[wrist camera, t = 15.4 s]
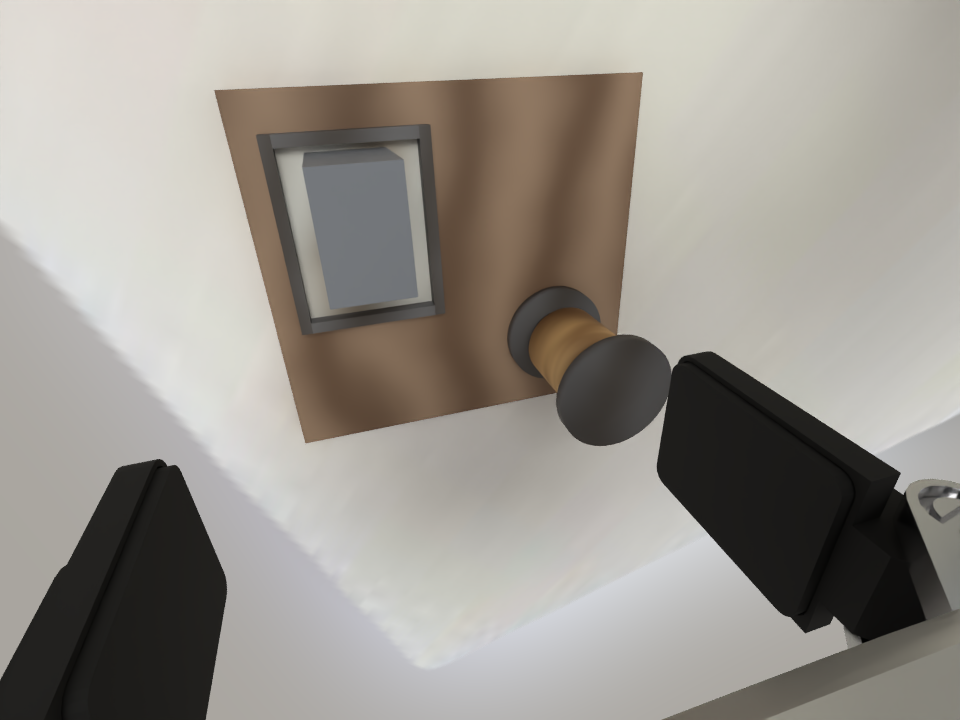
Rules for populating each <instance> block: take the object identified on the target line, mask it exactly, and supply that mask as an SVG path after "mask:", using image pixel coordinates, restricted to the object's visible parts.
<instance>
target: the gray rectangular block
mask: <svg viewBox="0 0 960 720" xmlns="http://www.w3.org/2000/svg"><path fill="white" fill-rule="evenodd" d="M302 170H303V175H304V180H305V185H306V190H307V195H308V200H309V205H310V210H311V215H312V220H313V226H314V231H315V236H316V241H317V246H318V251H319V256H320V261H321V266H322V271H323V276H324V281H325V286H326V291H327V296H328V301H329V307H330V310H332V309H339V308H346V307H353V306H360V305H367V304H374V303H381V302H388V301H395V300H402V299H409V298H416V297H418V290H417V280H416V271H415V261H414V252H413V242H412V233H411V223H410V214H409V204H408V195H407V185H406V176H405V166H404V159H402V158H401V157H399V156H398V155H397V154H395V153H394V152H392V151H391V150H389V149H388V148H386V147H375V148H361V149H347V150H333V151H319V152H305V153H304V155H303V164H302Z"/></svg>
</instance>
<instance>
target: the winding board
mask: <svg viewBox="0 0 960 720" xmlns="http://www.w3.org/2000/svg"><path fill="white" fill-rule="evenodd" d="M642 76H643V72H639V73H615V74H592V75H568V76H544V77H520V78H496V79H473V80H449V81H425V82H401V83H377V84H354V85H330V86H306V87H282V88H258V89H235V90H214V91H215V95H216V99H217V102H218V106H219V110H220V114H221V118H222V122H223V126H224V130H225V133H226V137H227V141H228V145H229V149H230V153H231V157H232V161H233V164H234V168H235V172H236V176H237V180H238V184H239V188H240V192H241V195H242V199H243V203H244V207H245V211H246V215H247V219H248V222H249V226H250V230H251V234H252V238H253V242H254V246H255V250H256V253H257V257H258V261H259V265H260V269H261V273H262V277H263V281H264V284H265V288H266V292H267V296H268V300H269V304H270V308H271V312H272V315H273V319H274V323H275V327H276V331H277V335H278V339H279V343H280V346H281V350H282V354H283V358H284V362H285V366H286V370H287V374H288V377H289V381H290V385H291V389H292V393H293V397H294V401H295V404H296V408H297V412H298V416H299V420H300V424H301V428H302V432H303V435H304V439H305V443H309V442H314V441H319V440H324V439H329V438H334V437H339V436H344V435H349V434H354V433H359V432H364V431H369V430H374V429H379V428H384V427H389V426H394V425H399V424H404V423H409V422H414V421H419V420H424V419H429V418H433V417H438V416H443V415H448V414H453V413H458V412H463V411H468V410H473V409H478V408H483V407H488V406H493V405H498V404H503V403H508V402H513V401H518V400H523V399H528V398H533V397H538V396H543V395H548V394H553V393H557V398H556V406H557V412H558V415H559V417H560V419H561V421H562V423H563V424H564V425H565V427H566V428H567V429H568V431H569V432H570V433H571V434H572V435H573V436H574V437H575V438H576V439H577V440H579V441H581V442H583V443H586V444H589V445H594V446H607V445H612V444H616V443H620V442H622V441H625V440H627V439H629V438H631V437H633V436H634V435H636V434H637V433H639V432H640V431H642V430H643V429H644V428H645V427H646V426H648V425H649V424H650V423H651V422H652V421H653V419H654V418H655V417H656V416H657V415H658V413H659V412H660V410H661V409H662V407H663V406H664V404H665V402H666V399H667V397H668V394H669V387H670V381H671V368H670V364H669V362H668V360H667V358H666V356H665V355H664V354H663V352H662V351H661V350H659V349H658V348H657V347H656V346H654V345H653V344H651V343H650V342H649V341H647V340H645V339H644V338H641V337H638V336H634V335H617V328H618V318H619V308H620V298H621V288H622V278H623V268H624V258H625V248H626V238H627V227H628V217H629V207H630V197H631V187H632V177H633V167H634V157H635V147H636V137H637V127H638V117H639V107H640V97H641V87H642ZM375 147H386V148H388V149H389V150H391V151H392V152H394V153H395V154H397V155H398V156H399V157H401V158H402V159H404V166H405V176H406V185H407V195H408V204H409V214H410V223H411V233H412V242H413V252H414V261H415V271H416V280H417V290H418V297H416V298H409V299H402V300H395V301H388V302H381V303H374V304H367V305H360V306H353V307H346V308H339V309H332V310H330V307H329V301H328V296H327V291H326V286H325V281H324V276H323V271H322V266H321V261H320V256H319V251H318V246H317V241H316V236H315V231H314V226H313V220H312V215H311V210H310V205H309V200H308V195H307V190H306V185H305V180H304V175H303V170H302V164H303V155H304V153H305V152H319V151H333V150H347V149H361V148H375Z"/></svg>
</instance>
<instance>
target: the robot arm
mask: <svg viewBox="0 0 960 720" xmlns="http://www.w3.org/2000/svg"><path fill="white" fill-rule="evenodd" d="M657 472H658V475H659V478H660V480H661V481H662V483H663V484H664V485H665V486H666V487H667V488H668V489H669V491H670V492H671V493H672V494H673V495H674V496H675V497H676V498H677V499H678V501H679V502H680V503H681V504H682V505H683V506H684V507H685V508H686V509H687V510H688V512H689V513H690V514H691V515H692V516H693V517H694V518H695V519H696V520H697V522H698V523H699V524H700V525H701V526H702V527H703V528H704V529H705V530H706V532H707V533H708V534H709V535H710V536H711V537H712V538H713V539H714V540H715V542H716V543H717V544H718V545H719V546H720V547H721V548H722V549H723V550H724V552H725V553H726V554H727V555H728V556H729V557H730V558H731V559H732V560H733V562H734V563H735V564H736V565H737V566H738V567H739V568H740V569H741V570H742V571H743V573H744V574H745V575H746V576H747V577H748V578H749V579H750V580H751V582H752V583H753V584H754V585H755V586H756V587H757V588H758V589H759V590H760V591H761V593H762V594H763V595H764V596H765V597H766V598H767V599H768V600H769V601H770V602H771V604H772V605H773V606H774V607H775V608H776V609H777V610H778V611H779V612H780V613H782V614H783V615H785V616H788V617H791V618H792V619H793V620H794V622H795V623H796V624H797V625H798V626H799V627H800V628H801V629H802V630H803V631H804V632H805V633H807V632H810V631H812V630H815V629H818V628H821V627H823V626H826V625H829V624H830V623H831V621H832V619H833V616H835V617H836V618H837V619H838V620H839V621H840V622H841V623H842V624H843V625H844V631H845V637H846V642H847V646H848V649H847V650H844V651H841V652H839V653H836V654H833V655H831V656H828V657H825V658H823V659H820V660H818V661H815V662H812V663H810V664H807V665H804V666H802V667H799V668H796V669H794V670H792V671H788V672H786V673H783V674H780V675H778V676H775V677H773V678H770V679H767V680H765V681H762V682H759V683H757V684H754V685H751V686H749V687H746V688H744V689H741V690H738V691H736V692H733V693H730V694H728V695H725V696H723V697H720V698H717V699H715V700H712V701H710V702H707V703H704V704H702V705H699V706H697V707H694V708H691V709H689V710H686V711H684V712H681V713H678V714H676V715H673V716H670V717H668V718H665V719H663V720H960V484H958V483H955V482H951V481H946V480H937V479H924V480H918V481H915V482H913V483H911V484H910V485H909V486H908V488H907V489H906V491H905V493H904V495H903V494H901V493H900V492H898V491H897V490H895V489H894V487H895V484H896V482H897V480H898V478H899V476H900V474H901V473H900V472H898V471H897V470H895V469H894V468H892V467H891V466H889V465H888V464H886V463H885V462H883V461H882V460H880V459H878V458H877V457H875V456H874V455H872V454H871V453H869V452H868V451H866V450H864V449H863V448H861V447H860V446H858V445H857V444H855V443H854V442H852V441H850V440H849V439H847V438H846V437H844V436H843V435H841V434H840V433H838V432H837V431H835V430H833V429H832V428H830V427H829V426H827V425H826V424H824V423H823V422H821V421H819V420H818V419H816V418H815V417H813V416H812V415H810V414H809V413H807V412H805V411H804V410H802V409H801V408H799V407H798V406H796V405H795V404H793V403H792V402H790V401H788V400H787V399H785V398H784V397H782V396H781V395H779V394H778V393H776V392H774V391H773V390H771V389H770V388H768V387H767V386H765V385H764V384H762V383H760V382H759V381H757V380H756V379H754V378H753V377H751V376H750V375H748V374H746V373H745V372H743V371H742V370H740V369H739V368H737V367H736V366H734V365H733V364H731V363H729V362H728V361H726V360H725V359H723V358H722V357H720V356H719V355H717V354H715V353H713V352H702V353H697V354H692V355H687V356H684V357H682V358H681V359H680V360H679V362H678V364H677V365H676V366H675V367H674V368H673V371H672V375H671V381H670V387H669V394H668V400H667V406H666V412H665V418H664V424H663V430H662V436H661V442H660V448H659V455H658V461H657ZM226 595H227V584H226V577H225V574H224V571H223V569H222V567H221V564H220V562H219V560H218V557H217V555H216V553H215V550H214V548H213V545H212V543H211V541H210V539H209V536H208V534H207V532H206V529H205V527H204V524H203V522H202V520H201V517H200V515H199V513H198V510H197V508H196V506H195V503H194V501H193V498H192V496H191V494H190V492H189V489H188V487H187V485H186V482H185V480H184V477H183V475H182V473H181V471H180V469H179V468H178V467H177V466H176V465H172V466H167V465H166V463H165V462H164V461H163V460H160V459H157V460H152V461H147V462H142V463H137V464H131V465H127V466H122V467H120V468H118V469H117V470H116V472H115V473H114V475H113V477H112V479H111V481H110V483H109V485H108V487H107V489H106V491H105V493H104V495H103V496H102V498H101V500H100V502H99V504H98V506H97V508H96V510H95V512H94V514H93V516H92V518H91V520H90V521H89V523H88V525H87V527H86V529H85V531H84V533H83V535H82V537H81V539H80V541H79V543H78V545H77V547H76V548H75V550H74V552H73V554H72V556H71V558H70V560H69V562H68V564H67V565H66V566H64V567H63V568H62V569H61V570H60V571H59V572H58V574H57V576H56V577H55V578H54V580H53V582H52V584H51V586H50V588H49V589H48V591H47V593H46V595H45V597H44V599H43V601H42V603H41V605H40V606H39V608H38V610H37V612H36V614H35V616H34V618H33V619H32V622H31V623H30V625H29V627H28V629H27V631H26V633H25V635H24V636H23V638H22V640H21V642H20V644H19V646H18V648H17V650H16V652H15V653H14V655H13V657H12V659H11V661H10V663H9V665H8V667H7V669H6V670H5V672H4V674H3V676H2V678H1V680H0V720H206V714H207V708H208V702H209V696H210V691H211V685H212V679H213V673H214V667H215V661H216V655H217V649H218V643H219V638H220V632H221V626H222V620H223V614H224V607H225V602H226Z"/></svg>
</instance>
